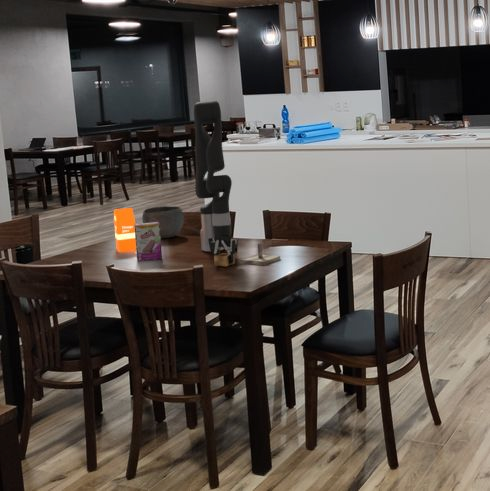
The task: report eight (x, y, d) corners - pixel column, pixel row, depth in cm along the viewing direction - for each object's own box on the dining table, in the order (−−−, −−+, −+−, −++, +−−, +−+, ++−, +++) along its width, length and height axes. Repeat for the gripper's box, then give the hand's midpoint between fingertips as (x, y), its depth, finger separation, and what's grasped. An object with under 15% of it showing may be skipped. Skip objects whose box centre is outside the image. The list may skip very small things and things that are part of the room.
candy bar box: (137, 262, 379) (134, 225, 376) (137, 260, 384) (133, 223, 381) (162, 259, 381) (159, 223, 378) (162, 257, 386) (158, 221, 383)
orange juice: (116, 249, 412) (112, 208, 408) (134, 247, 414) (130, 206, 410) (119, 252, 404) (115, 210, 401) (137, 250, 407) (133, 208, 403)
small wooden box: (214, 265, 359) (213, 256, 358) (223, 262, 364) (222, 253, 363) (226, 266, 355) (225, 256, 355) (234, 263, 360) (234, 253, 359)
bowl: (156, 233, 449) (153, 205, 446) (192, 233, 441) (190, 204, 438) (136, 241, 430) (133, 212, 427) (174, 241, 422) (171, 211, 419)
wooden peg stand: (240, 263, 362) (239, 244, 360) (257, 257, 371) (255, 239, 370) (264, 265, 355) (263, 246, 353) (280, 259, 364) (279, 241, 363)
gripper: (202, 224, 357) (205, 263, 361) (230, 225, 349) (233, 266, 352) (213, 221, 363) (216, 259, 367) (241, 222, 355) (243, 262, 358)
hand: (224, 262), depth 359 cm, fingers closed on small wooden box, 6 cm apart
